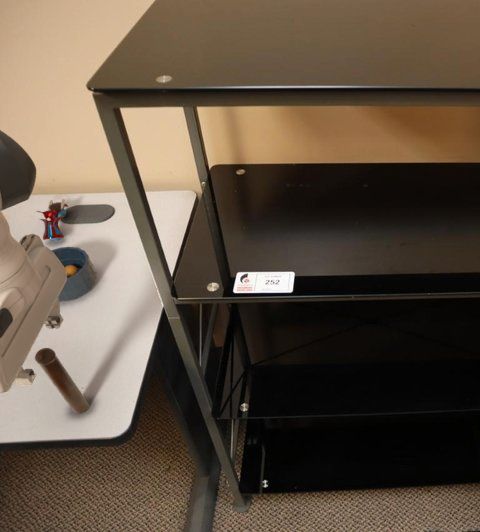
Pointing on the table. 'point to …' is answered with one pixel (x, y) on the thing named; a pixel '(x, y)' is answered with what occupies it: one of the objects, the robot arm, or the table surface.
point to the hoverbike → (53, 220)
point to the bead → (71, 270)
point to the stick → (61, 380)
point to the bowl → (82, 279)
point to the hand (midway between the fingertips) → (42, 351)
